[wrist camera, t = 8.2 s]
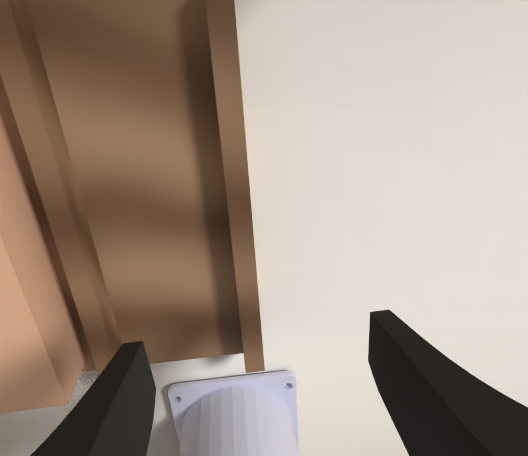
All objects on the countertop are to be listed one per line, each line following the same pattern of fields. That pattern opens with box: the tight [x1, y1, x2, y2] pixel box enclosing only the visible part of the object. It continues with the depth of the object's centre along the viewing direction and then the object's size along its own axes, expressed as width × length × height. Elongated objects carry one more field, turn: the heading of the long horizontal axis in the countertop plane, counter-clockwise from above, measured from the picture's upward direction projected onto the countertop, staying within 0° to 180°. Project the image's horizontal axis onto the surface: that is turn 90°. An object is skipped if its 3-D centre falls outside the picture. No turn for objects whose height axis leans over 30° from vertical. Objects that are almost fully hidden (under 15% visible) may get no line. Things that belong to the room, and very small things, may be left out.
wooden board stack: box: [0, 0, 265, 375], centre depth 19 cm, size 18×16×3 cm
